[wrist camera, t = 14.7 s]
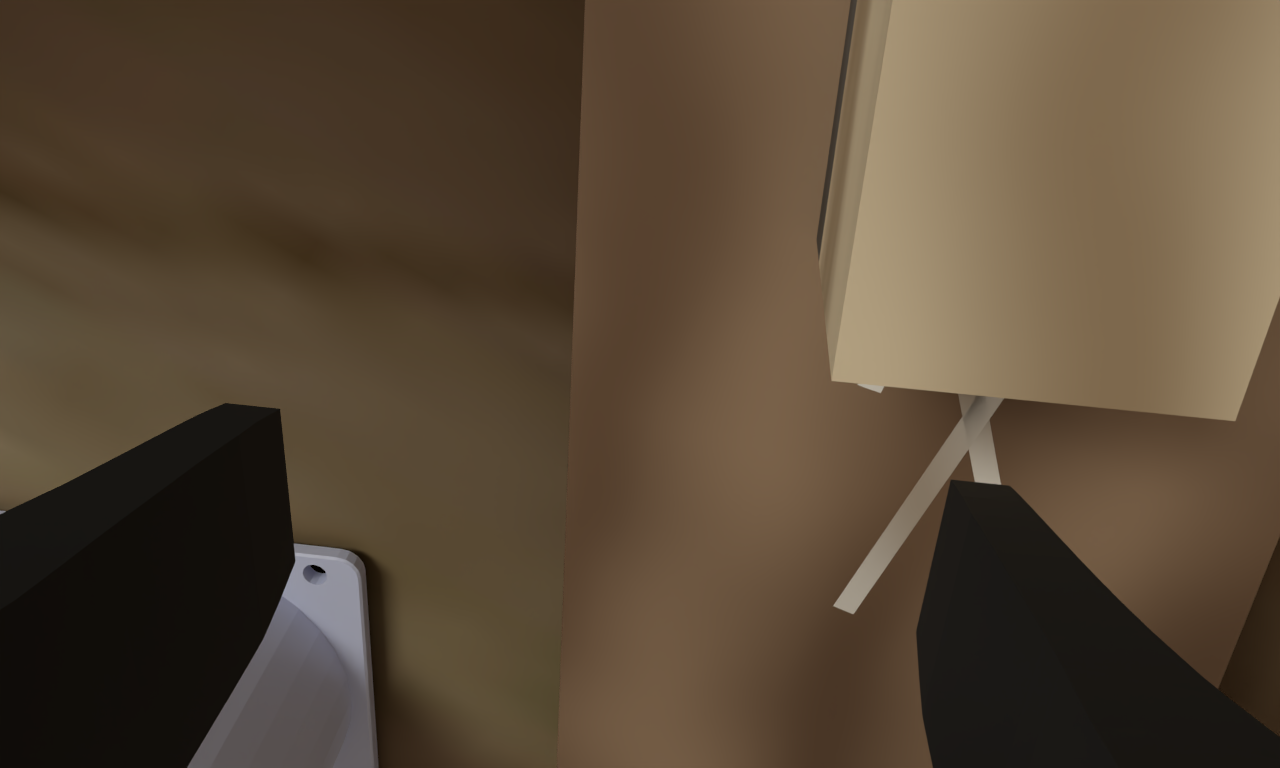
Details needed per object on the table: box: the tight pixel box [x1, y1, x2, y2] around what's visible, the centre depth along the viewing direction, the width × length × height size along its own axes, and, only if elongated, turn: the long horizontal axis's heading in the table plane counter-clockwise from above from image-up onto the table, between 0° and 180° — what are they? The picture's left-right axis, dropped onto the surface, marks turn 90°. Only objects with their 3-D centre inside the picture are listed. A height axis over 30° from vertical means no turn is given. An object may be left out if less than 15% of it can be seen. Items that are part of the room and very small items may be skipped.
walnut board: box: [557, 0, 1280, 768], centre depth 21 cm, size 13×26×2 cm, turn 177°
